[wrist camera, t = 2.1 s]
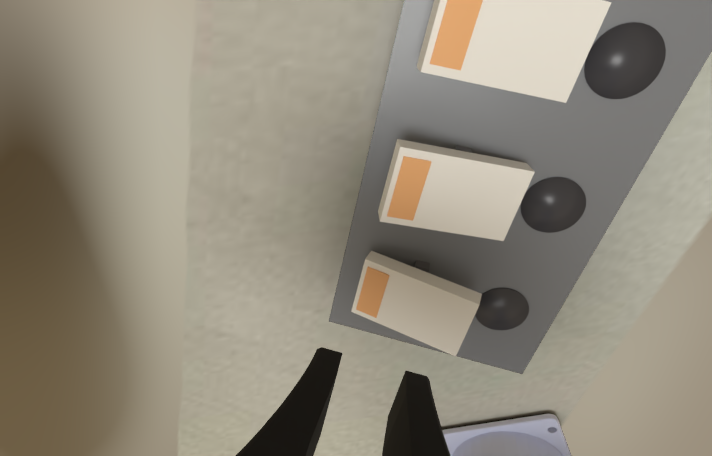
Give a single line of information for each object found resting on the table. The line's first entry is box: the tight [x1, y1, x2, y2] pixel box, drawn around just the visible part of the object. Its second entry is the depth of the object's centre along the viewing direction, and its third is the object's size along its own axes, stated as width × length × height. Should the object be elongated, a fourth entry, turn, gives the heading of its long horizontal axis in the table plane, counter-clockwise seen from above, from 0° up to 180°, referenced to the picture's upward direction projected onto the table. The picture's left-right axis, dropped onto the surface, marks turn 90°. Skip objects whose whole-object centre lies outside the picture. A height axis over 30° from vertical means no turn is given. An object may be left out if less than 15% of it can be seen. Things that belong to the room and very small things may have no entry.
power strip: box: [329, 0, 712, 374], centre depth 17 cm, size 25×10×3 cm, turn 168°
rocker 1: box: [417, 0, 612, 103], centre depth 13 cm, size 3×5×1 cm, turn 78°
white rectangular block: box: [351, 251, 482, 356], centre depth 19 cm, size 3×5×1 cm, turn 78°
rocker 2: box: [378, 139, 535, 241], centre depth 16 cm, size 3×5×1 cm, turn 78°
